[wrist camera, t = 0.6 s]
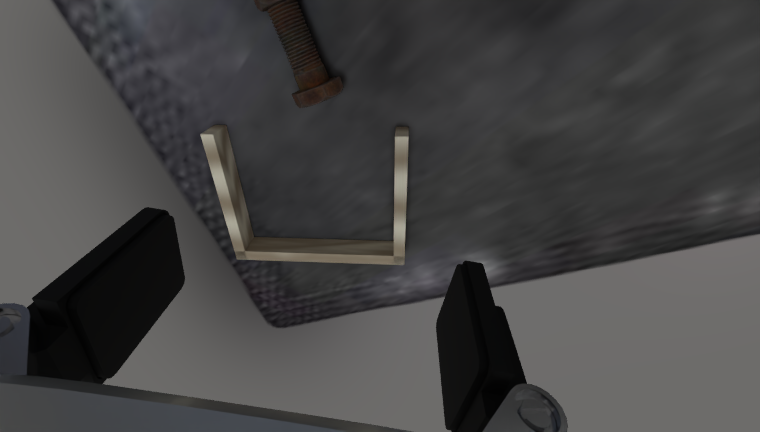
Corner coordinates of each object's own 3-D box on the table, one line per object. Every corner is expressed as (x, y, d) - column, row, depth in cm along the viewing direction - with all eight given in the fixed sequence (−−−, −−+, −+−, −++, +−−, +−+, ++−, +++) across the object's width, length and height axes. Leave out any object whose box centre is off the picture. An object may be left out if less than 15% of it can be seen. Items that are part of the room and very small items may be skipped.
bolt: (275, -59, 35) (333, 90, 42) (227, -45, 34) (295, 107, 40) (285, -85, 30) (349, 90, 37) (228, -68, 29) (306, 109, 35)
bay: (214, 125, 43) (200, 134, 40) (408, 126, 42) (408, 136, 39) (246, 244, 53) (237, 259, 50) (404, 249, 52) (404, 264, 49)
